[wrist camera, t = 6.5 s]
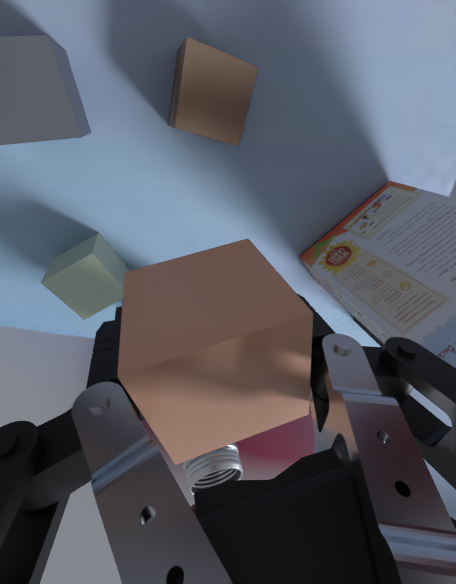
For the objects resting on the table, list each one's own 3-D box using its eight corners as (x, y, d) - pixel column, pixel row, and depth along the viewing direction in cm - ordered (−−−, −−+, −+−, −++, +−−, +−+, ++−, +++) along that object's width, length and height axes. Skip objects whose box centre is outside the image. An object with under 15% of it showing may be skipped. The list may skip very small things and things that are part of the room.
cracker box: (315, 282, 38) (457, 416, 21) (296, 255, 34) (448, 390, 18) (401, 214, 35) (636, 306, 19) (390, 178, 32) (667, 251, 15)
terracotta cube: (124, 272, 10) (117, 376, 6) (248, 238, 11) (313, 312, 7) (163, 357, 13) (175, 464, 9) (258, 326, 14) (308, 414, 10)
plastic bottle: (212, 312, 35) (273, 475, 20) (165, 333, 35) (189, 516, 19) (193, 274, 32) (251, 440, 16) (140, 298, 31) (145, 490, 15)
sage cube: (55, 256, 26) (40, 282, 22) (98, 231, 26) (92, 253, 22) (91, 291, 29) (84, 319, 25) (130, 269, 29) (129, 294, 25)
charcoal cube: (-14, 53, 18) (-56, 38, 14) (65, 50, 19) (46, 34, 15) (24, 138, 21) (-3, 145, 17) (91, 132, 22) (81, 137, 18)
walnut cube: (177, 50, 21) (187, 36, 17) (236, 74, 22) (258, 66, 18) (167, 124, 23) (174, 127, 19) (222, 140, 25) (238, 146, 21)
